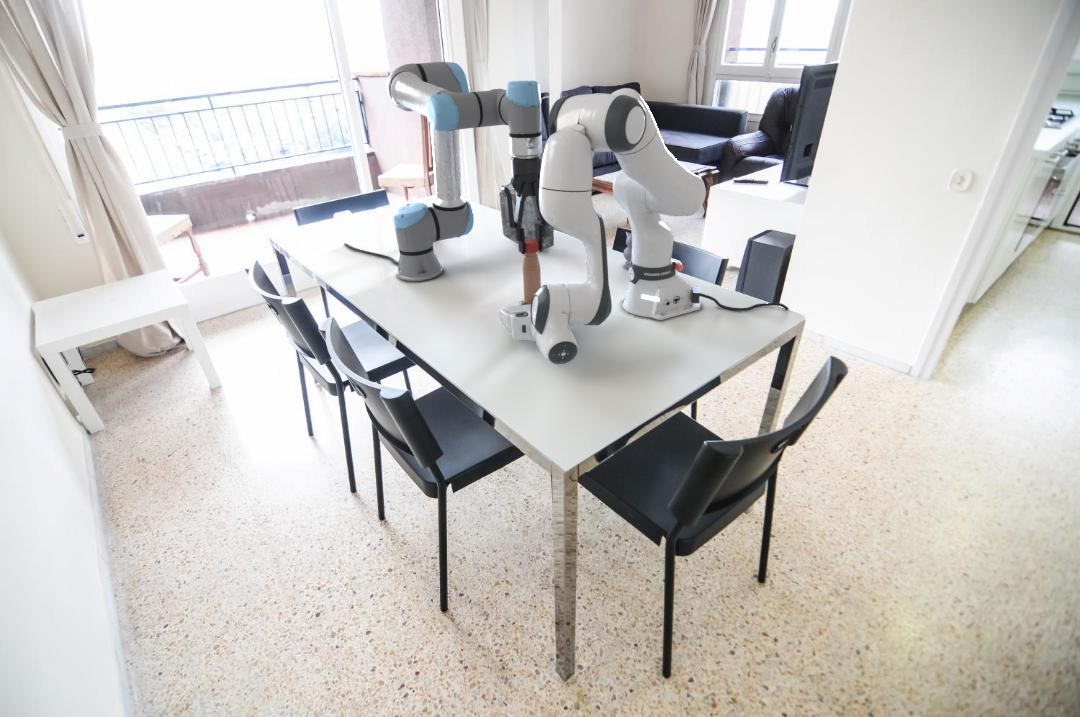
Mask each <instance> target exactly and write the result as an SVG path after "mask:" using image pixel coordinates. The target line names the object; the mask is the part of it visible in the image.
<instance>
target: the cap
mask: <svg viewBox="0 0 1080 717" xmlns="http://www.w3.org/2000/svg"><path fill="white" fill-rule="evenodd" d="M538 252H540V251H539V242H538V240H537V239H534V238H529V239H525V253H536V254H537V253H538Z"/></svg>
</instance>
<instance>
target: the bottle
mask: <svg viewBox="0 0 1080 717" xmlns="http://www.w3.org/2000/svg"><path fill="white" fill-rule="evenodd" d="M523 255H524V256H523V261H522V262H523V263H522V282H523V301H525V303H526V305H528V304H531V302H532V298H533V296H534V295H535V293H536V292H537V291H538V289H539V288H540V287H541V286H542V276H541V263H540V260H539V256H538V253H537V252H536V253H525V254H523Z"/></svg>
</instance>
